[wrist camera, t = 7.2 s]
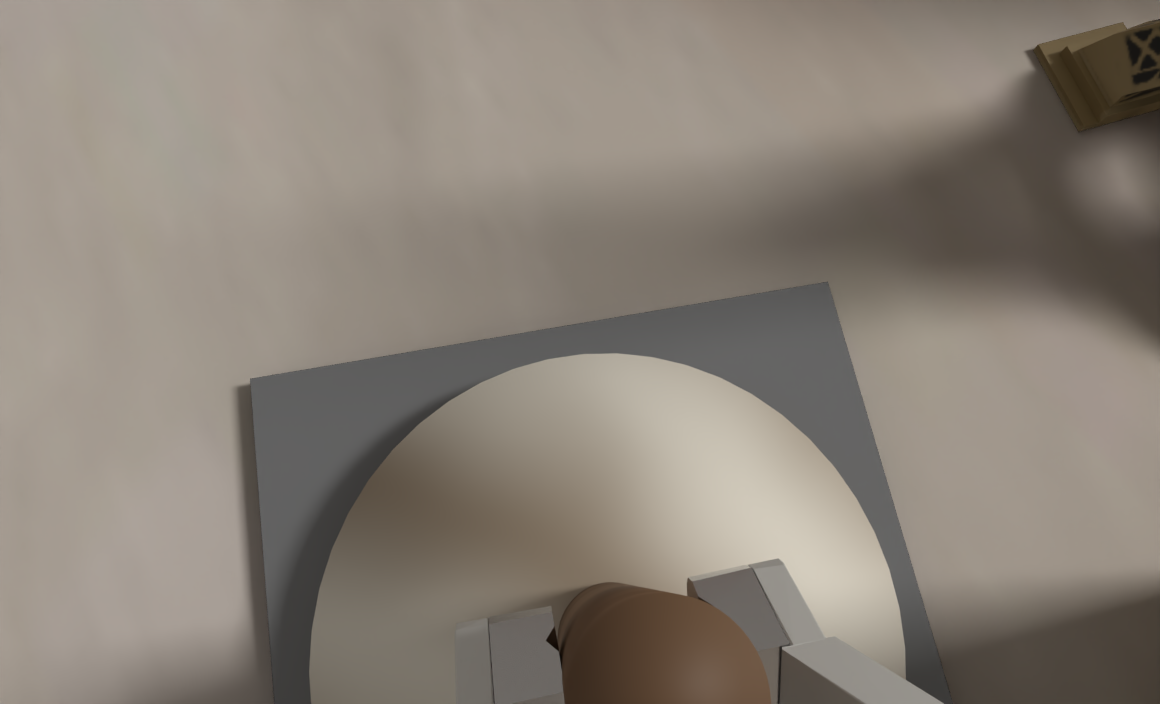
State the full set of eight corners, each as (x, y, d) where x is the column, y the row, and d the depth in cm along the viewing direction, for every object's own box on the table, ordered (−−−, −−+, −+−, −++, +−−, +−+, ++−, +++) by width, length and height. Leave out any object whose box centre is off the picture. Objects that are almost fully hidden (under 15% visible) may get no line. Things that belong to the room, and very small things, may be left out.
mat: (1009, 923, 15) (1020, 931, 15) (311, 1099, 14) (305, 1115, 14) (822, 287, 19) (827, 281, 19) (256, 383, 18) (250, 378, 17)
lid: (772, 1086, 14) (1077, 1794, 6) (212, 795, 15) (-184, 1063, 7) (952, 495, 17) (1311, 429, 9) (481, 285, 18) (427, 57, 10)
